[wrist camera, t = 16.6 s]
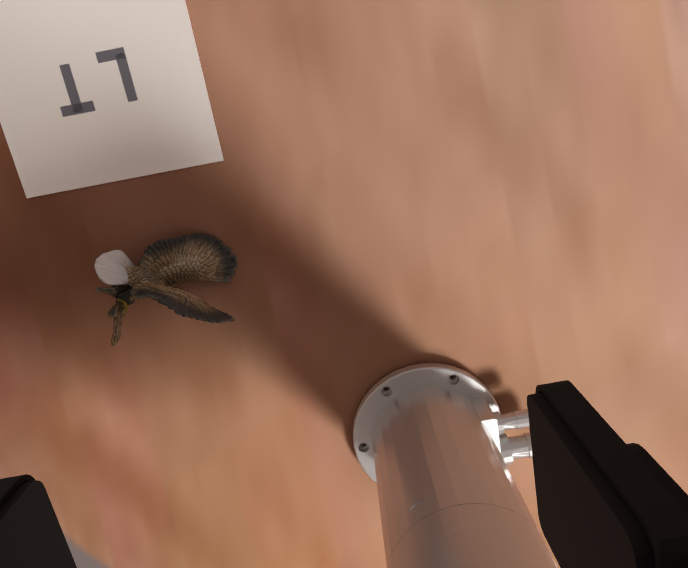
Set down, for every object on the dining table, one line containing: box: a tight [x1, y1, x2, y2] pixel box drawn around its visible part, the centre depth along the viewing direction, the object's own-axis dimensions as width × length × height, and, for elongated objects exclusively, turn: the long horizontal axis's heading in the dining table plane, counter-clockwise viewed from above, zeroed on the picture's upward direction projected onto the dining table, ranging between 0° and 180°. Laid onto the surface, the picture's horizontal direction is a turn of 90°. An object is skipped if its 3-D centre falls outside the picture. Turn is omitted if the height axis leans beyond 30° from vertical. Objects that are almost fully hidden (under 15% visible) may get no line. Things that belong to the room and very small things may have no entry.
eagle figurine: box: [94, 233, 238, 346], centre depth 41 cm, size 8×7×9 cm
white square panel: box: [0, 0, 224, 198], centre depth 40 cm, size 15×14×1 cm
